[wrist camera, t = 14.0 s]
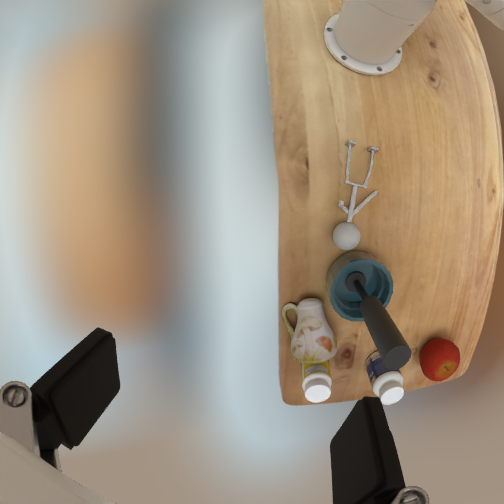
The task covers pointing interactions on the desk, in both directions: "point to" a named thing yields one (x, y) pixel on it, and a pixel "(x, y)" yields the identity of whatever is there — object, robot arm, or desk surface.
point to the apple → (439, 359)
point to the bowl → (376, 285)
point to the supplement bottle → (316, 381)
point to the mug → (310, 332)
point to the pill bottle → (384, 380)
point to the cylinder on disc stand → (380, 325)
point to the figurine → (352, 207)
